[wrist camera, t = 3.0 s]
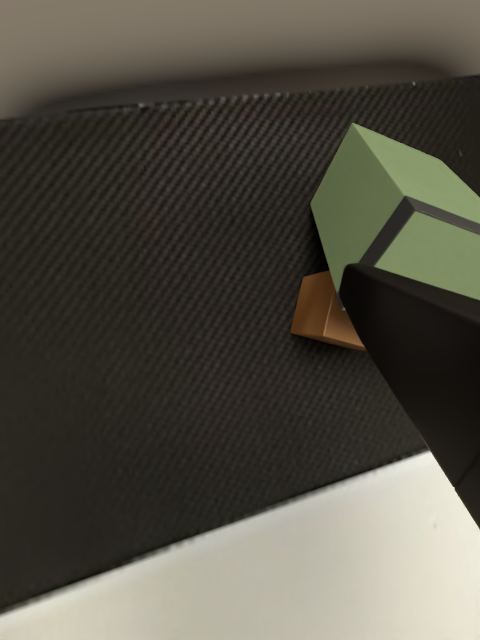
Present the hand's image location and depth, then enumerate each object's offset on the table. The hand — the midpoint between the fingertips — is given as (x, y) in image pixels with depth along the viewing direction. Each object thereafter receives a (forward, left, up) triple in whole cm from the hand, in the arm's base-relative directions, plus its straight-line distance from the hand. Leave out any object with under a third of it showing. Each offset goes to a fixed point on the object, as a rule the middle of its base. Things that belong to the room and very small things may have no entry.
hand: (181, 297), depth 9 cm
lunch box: (+1, -14, -9) cm, 16 cm away
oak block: (-4, -11, -14) cm, 18 cm away
